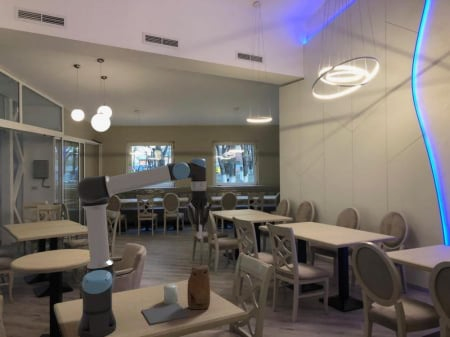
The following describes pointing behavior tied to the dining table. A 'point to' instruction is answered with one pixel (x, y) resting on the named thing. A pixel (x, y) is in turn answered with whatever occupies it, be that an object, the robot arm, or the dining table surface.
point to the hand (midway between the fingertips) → (199, 238)
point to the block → (199, 287)
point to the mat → (164, 313)
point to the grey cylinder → (170, 293)
